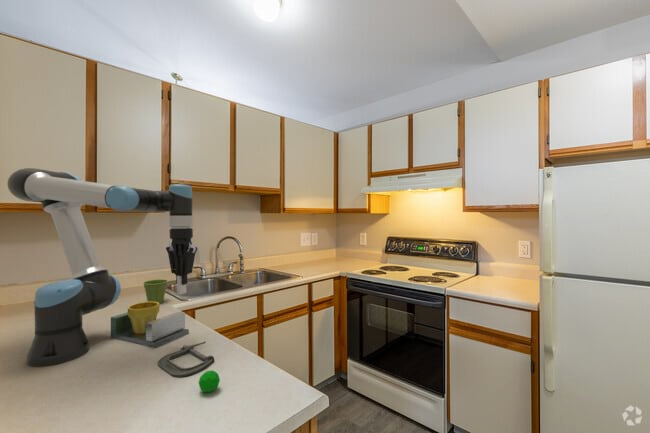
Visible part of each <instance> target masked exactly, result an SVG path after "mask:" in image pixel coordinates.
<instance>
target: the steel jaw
mask: <svg viewBox="0 0 650 433" xmlns="http://www.w3.org/2000/svg"><path fill="white" fill-rule="evenodd" d="M183 328H184V329H186V313H185V312H184V311H176V312H175V313H171V314H168V315H166V316H162V317H160V318H156V320H153V321H150V322H148V323H146V340H147V341H155V340H157V339H159V338H162V337H164V336H167V335H169V334H171V333H174V332H176V331H179V330H181V329H183Z"/></svg>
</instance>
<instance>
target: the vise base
mask: <svg viewBox="0 0 650 433" xmlns="http://www.w3.org/2000/svg"><path fill="white" fill-rule="evenodd" d="M189 331H190V330H189V329H188V328H183V329H181V330H179V331H176V332H174V333H171V334H169V335H167V336H164V337H162V338H159V339H157V340H155V341H147V340H146V333H143V334H136V333H134V331H133V327H132V323H131V319H130V317H128V311H126V312H124V313H122V314H118V315H117V314H116V315H114V316H111V317H110V338H112V339H115V340H119V341H120V340H121V341H125V342H130V343H134V344H138V345H143V346H147V347H151V348H155V349H156V348H158V347H161V346H163V345H166V344H168V343H170V342H173V341H174V340H177V339H180V338H181V337H183V336H186V335H188V334H190V332H189Z"/></svg>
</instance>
